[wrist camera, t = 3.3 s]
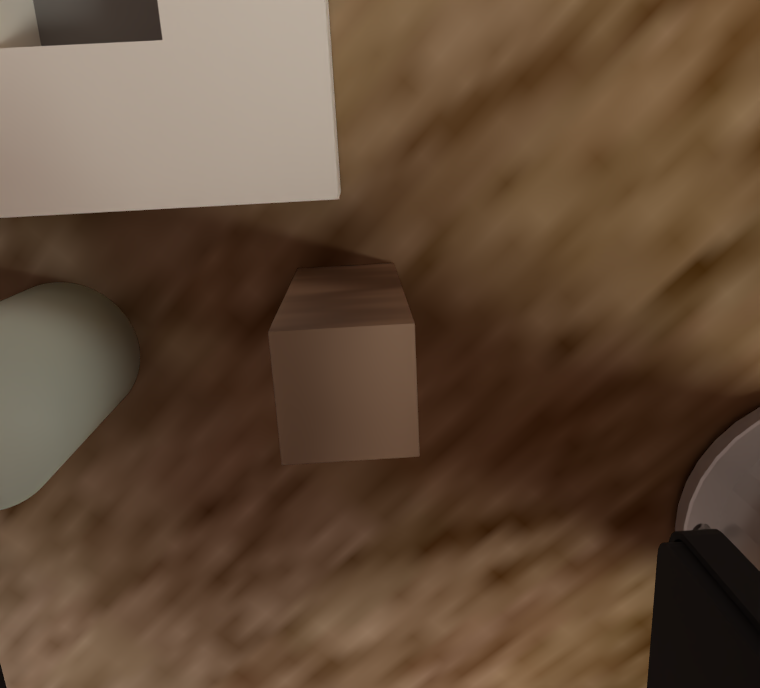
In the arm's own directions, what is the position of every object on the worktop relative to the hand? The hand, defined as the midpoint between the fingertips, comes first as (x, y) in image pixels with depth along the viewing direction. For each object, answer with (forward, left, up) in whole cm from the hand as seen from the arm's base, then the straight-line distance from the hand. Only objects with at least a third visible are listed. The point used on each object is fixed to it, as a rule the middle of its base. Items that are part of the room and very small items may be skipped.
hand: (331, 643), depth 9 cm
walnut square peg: (0, 0, -20) cm, 20 cm away
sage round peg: (+12, +1, -20) cm, 23 cm away
